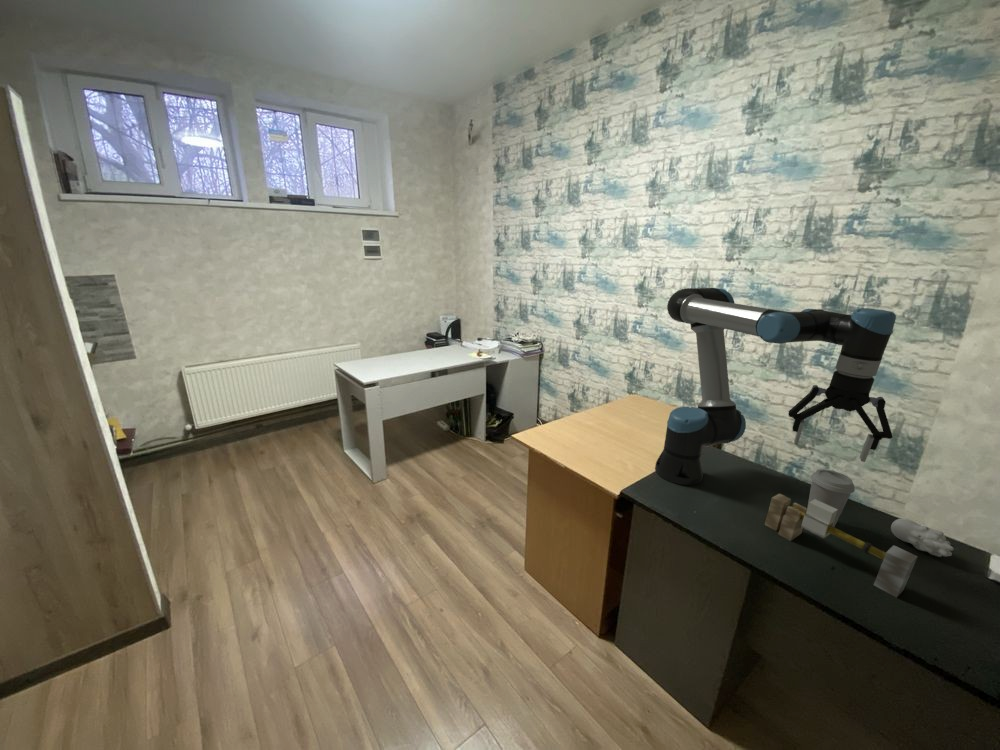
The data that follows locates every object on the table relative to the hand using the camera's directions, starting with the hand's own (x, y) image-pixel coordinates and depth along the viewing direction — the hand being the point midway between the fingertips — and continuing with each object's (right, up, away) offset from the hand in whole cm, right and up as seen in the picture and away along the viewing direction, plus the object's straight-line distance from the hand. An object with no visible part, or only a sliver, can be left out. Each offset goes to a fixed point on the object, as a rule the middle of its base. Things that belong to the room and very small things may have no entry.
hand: (827, 450), depth 101 cm
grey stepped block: (-3, -21, 0) cm, 21 cm away
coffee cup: (+7, -23, +11) cm, 26 cm away
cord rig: (-1, -26, -1) cm, 27 cm away
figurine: (+26, -26, +2) cm, 37 cm away
